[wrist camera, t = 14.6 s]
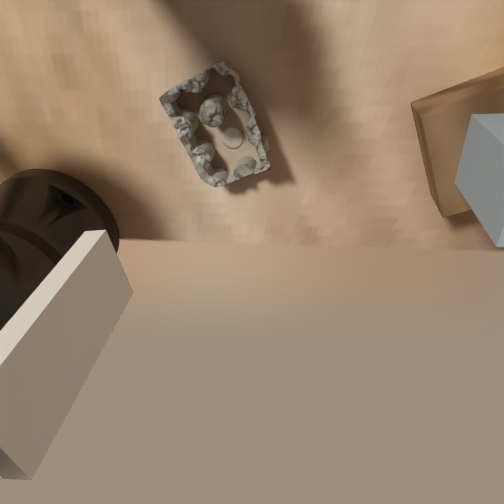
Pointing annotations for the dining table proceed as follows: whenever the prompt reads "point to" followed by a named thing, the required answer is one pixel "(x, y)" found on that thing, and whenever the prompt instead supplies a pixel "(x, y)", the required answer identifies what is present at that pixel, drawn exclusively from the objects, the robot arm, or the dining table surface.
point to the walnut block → (453, 132)
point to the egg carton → (213, 116)
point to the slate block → (484, 172)
